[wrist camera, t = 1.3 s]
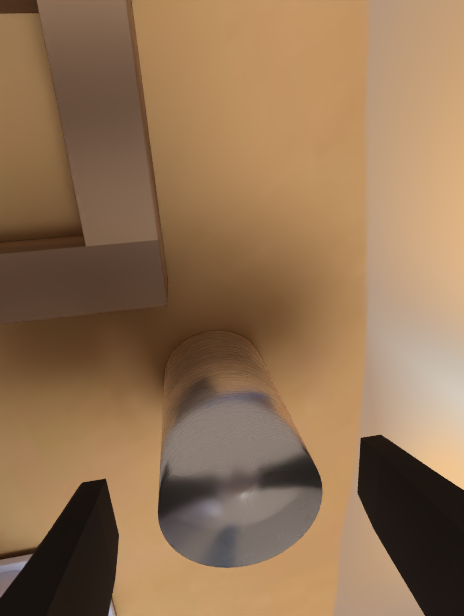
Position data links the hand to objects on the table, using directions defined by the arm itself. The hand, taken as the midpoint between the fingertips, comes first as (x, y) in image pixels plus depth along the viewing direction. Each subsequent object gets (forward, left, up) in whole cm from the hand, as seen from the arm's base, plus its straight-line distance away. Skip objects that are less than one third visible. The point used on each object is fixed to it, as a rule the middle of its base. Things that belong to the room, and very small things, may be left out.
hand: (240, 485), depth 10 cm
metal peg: (0, 0, -6) cm, 6 cm away
